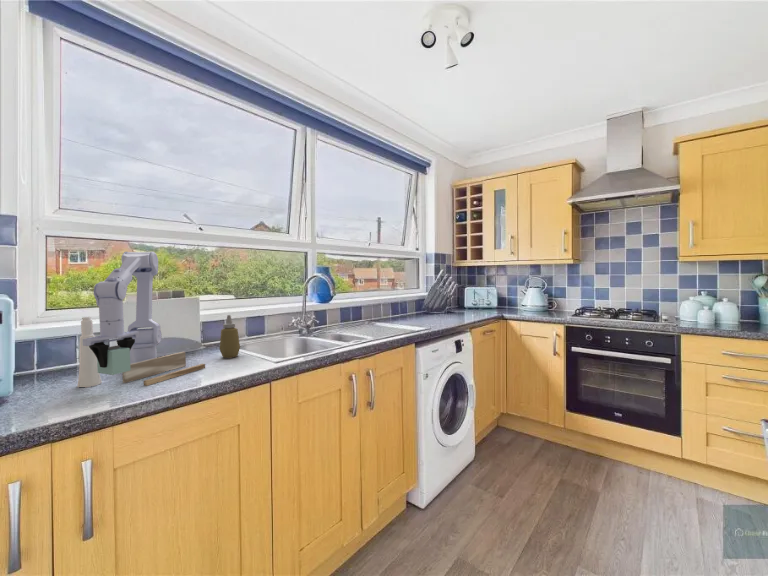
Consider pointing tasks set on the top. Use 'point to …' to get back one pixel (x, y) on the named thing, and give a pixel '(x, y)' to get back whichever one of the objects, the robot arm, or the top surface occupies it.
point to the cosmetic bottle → (87, 358)
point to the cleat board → (159, 368)
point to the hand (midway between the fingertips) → (113, 364)
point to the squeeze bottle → (229, 339)
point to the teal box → (116, 361)
